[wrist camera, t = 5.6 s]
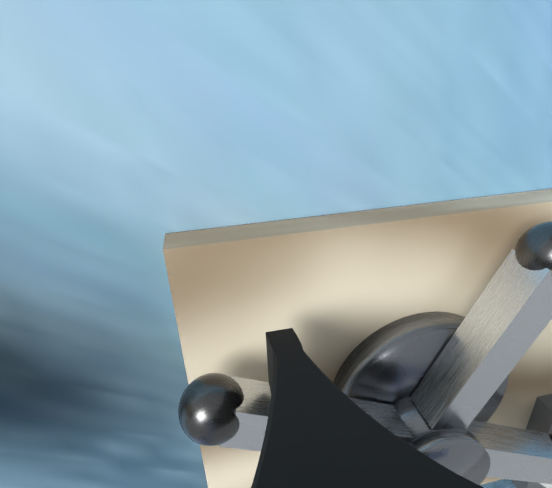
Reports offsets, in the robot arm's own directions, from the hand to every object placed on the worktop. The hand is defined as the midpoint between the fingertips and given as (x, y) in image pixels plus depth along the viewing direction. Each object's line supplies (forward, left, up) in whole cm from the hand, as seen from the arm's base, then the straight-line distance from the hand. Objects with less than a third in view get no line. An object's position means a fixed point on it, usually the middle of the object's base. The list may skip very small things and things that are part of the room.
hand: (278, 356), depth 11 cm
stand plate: (-5, -6, -3) cm, 8 cm away
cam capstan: (-5, -5, -2) cm, 7 cm away
